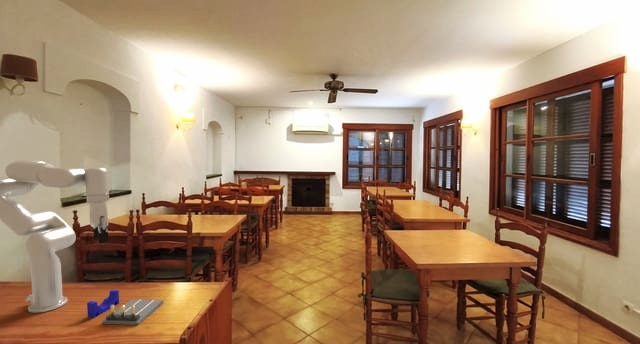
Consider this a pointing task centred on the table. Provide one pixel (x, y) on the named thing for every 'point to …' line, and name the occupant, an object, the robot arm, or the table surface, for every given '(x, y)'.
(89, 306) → the blue curved bracket
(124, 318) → the brass pins
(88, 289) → the table surface
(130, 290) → the table surface
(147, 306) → the header board
